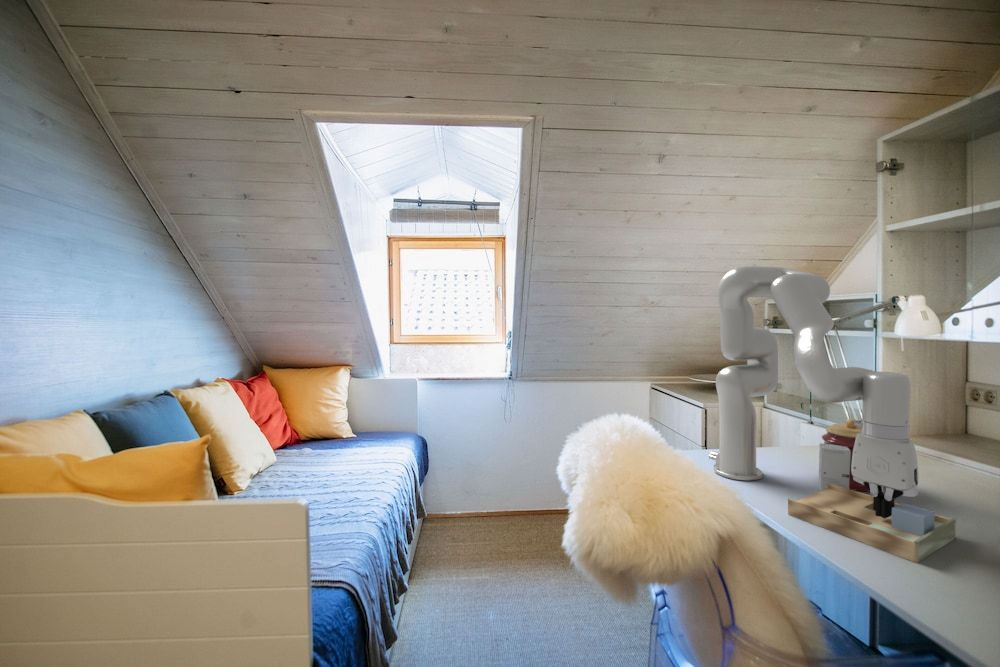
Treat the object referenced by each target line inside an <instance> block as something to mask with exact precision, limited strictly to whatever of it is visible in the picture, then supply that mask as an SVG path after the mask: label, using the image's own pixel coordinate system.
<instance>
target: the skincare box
mask: <svg viewBox="0 0 1000 667" xmlns="http://www.w3.org/2000/svg"><path fill="white" fill-rule="evenodd" d="M850 455H851V451H850V450H849V448H848V447H846V446H838V445H831V444H824V443H821V442H820V443H819V456H818V458H819V459H818V485H817V486H818V491H819V492H820V491H822V490H825V489H828V483H830V484H833V485H837V486H840V487H843V488H847V489H849V478H850Z"/></svg>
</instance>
